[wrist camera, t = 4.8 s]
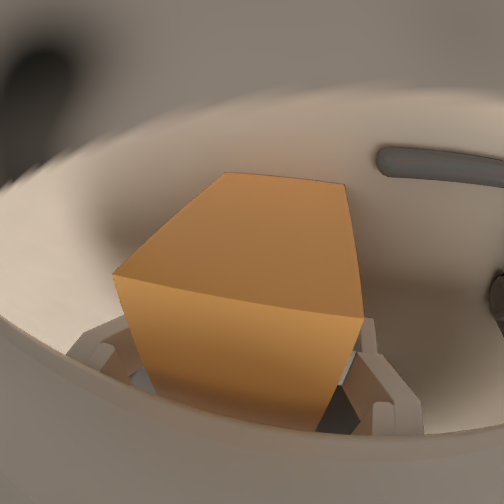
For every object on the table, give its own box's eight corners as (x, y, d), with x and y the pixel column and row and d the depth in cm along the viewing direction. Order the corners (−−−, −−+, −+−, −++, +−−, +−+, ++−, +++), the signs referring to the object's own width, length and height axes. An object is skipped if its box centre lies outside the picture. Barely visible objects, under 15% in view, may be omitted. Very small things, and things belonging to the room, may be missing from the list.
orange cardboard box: (343, 184, 10) (364, 319, 4) (313, 341, 14) (293, 468, 8) (225, 172, 11) (111, 273, 5) (230, 327, 15) (181, 442, 9)
